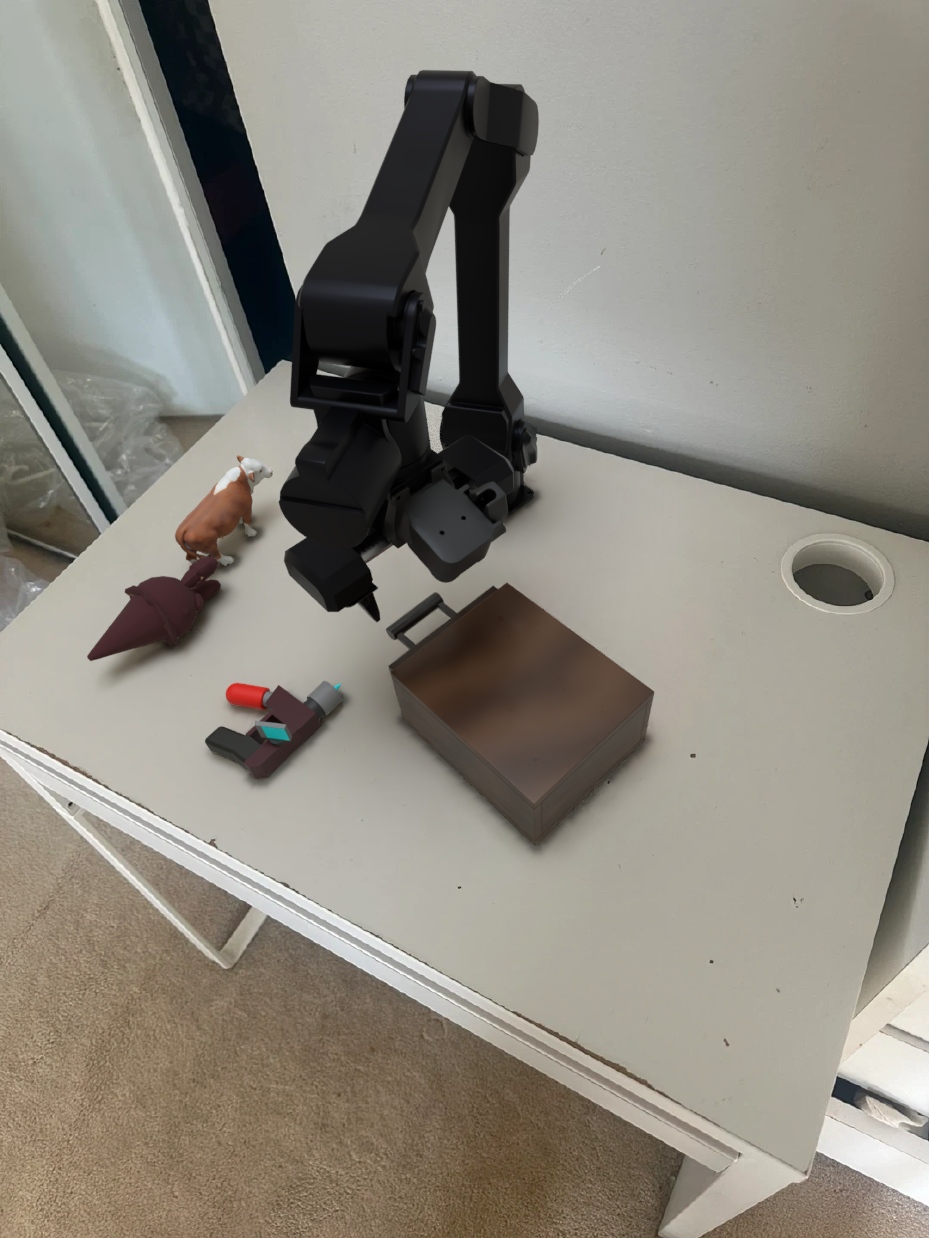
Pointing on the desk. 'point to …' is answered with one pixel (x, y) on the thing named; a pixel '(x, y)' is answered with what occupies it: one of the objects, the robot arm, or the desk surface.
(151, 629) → the icecream
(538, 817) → the cabinet
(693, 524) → the desk surface
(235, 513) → the bull figurine
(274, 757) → the toy gun
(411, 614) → the drawer
